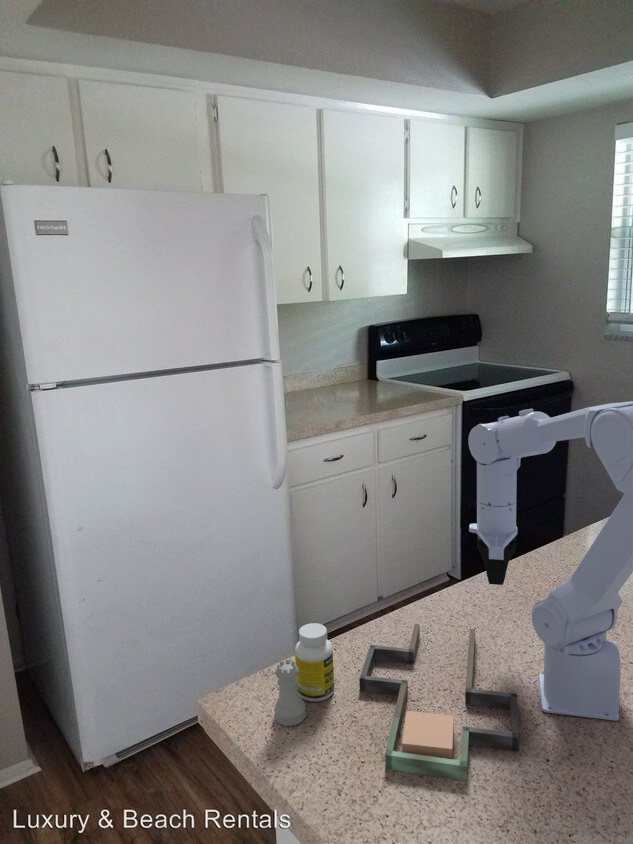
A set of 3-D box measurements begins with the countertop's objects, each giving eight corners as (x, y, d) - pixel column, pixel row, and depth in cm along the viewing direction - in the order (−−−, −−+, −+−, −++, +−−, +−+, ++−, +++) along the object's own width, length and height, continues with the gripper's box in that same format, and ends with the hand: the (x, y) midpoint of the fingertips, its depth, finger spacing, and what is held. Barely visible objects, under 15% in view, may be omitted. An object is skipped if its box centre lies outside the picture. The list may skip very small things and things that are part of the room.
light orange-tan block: (453, 735, 84) (453, 715, 83) (452, 770, 78) (452, 748, 77) (407, 730, 85) (406, 710, 84) (402, 764, 79) (401, 743, 79)
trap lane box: (514, 644, 102) (514, 632, 102) (520, 789, 74) (520, 774, 74) (378, 631, 108) (378, 620, 107) (337, 761, 80) (336, 747, 80)
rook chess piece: (282, 732, 86) (278, 679, 84) (269, 713, 90) (264, 662, 88) (312, 720, 88) (309, 668, 86) (298, 702, 91) (294, 651, 90)
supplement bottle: (331, 704, 90) (327, 642, 88) (293, 701, 92) (289, 639, 89) (337, 680, 96) (334, 621, 93) (302, 678, 97) (297, 619, 95)
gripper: (471, 483, 105) (471, 560, 108) (467, 516, 92) (467, 603, 95) (516, 484, 103) (515, 563, 106) (519, 519, 90) (518, 607, 93)
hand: (496, 582), depth 100 cm, fingers closed
